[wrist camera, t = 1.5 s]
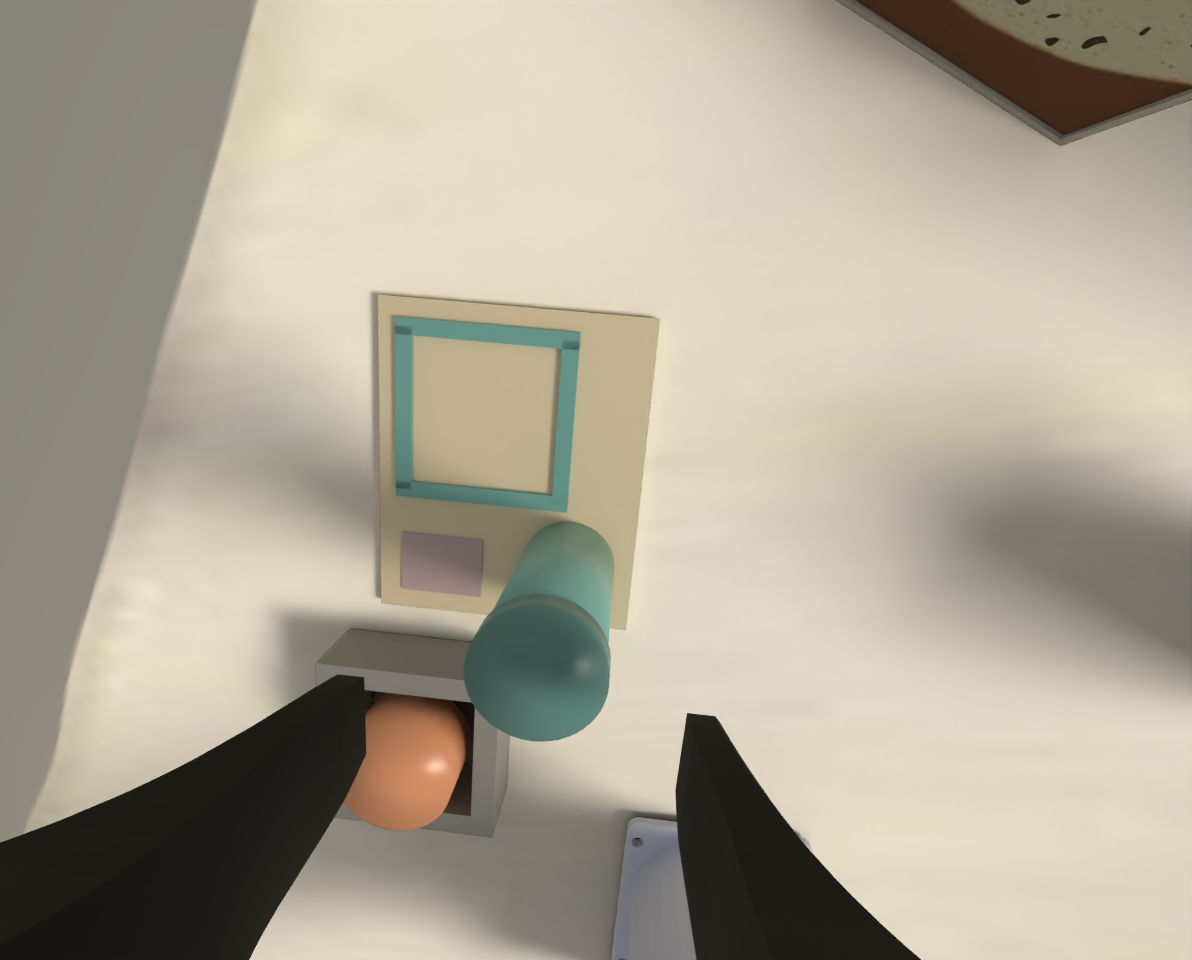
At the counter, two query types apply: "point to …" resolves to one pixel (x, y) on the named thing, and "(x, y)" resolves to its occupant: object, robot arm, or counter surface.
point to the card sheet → (505, 442)
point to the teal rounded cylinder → (547, 638)
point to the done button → (409, 761)
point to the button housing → (433, 675)
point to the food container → (1053, 55)
